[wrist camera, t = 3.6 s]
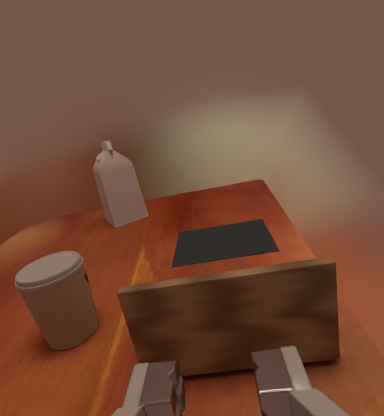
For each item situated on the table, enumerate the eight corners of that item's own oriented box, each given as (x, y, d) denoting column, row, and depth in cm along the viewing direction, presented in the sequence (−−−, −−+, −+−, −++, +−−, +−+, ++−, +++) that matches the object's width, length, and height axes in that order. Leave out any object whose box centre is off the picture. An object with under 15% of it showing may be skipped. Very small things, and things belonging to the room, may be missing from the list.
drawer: (299, 289, 44) (293, 213, 41) (340, 364, 31) (336, 262, 27) (162, 307, 47) (144, 237, 43) (145, 385, 33) (116, 293, 30)
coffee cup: (115, 316, 47) (94, 251, 43) (70, 361, 39) (40, 287, 35) (77, 308, 51) (54, 248, 48) (29, 347, 44) (-2, 280, 40)
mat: (262, 219, 74) (262, 219, 74) (279, 251, 57) (279, 250, 57) (179, 233, 76) (179, 232, 76) (171, 267, 59) (171, 266, 59)
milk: (148, 216, 94) (128, 137, 86) (115, 228, 89) (90, 145, 82) (137, 209, 105) (118, 138, 97) (106, 220, 100) (83, 145, 92)
